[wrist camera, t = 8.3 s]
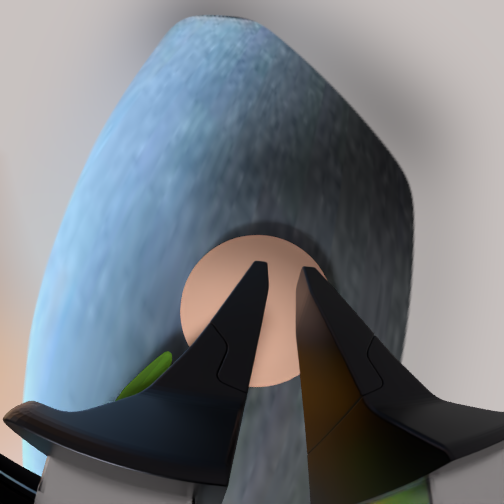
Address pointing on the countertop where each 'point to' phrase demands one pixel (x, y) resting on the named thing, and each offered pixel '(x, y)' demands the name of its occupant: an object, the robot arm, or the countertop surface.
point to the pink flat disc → (277, 305)
